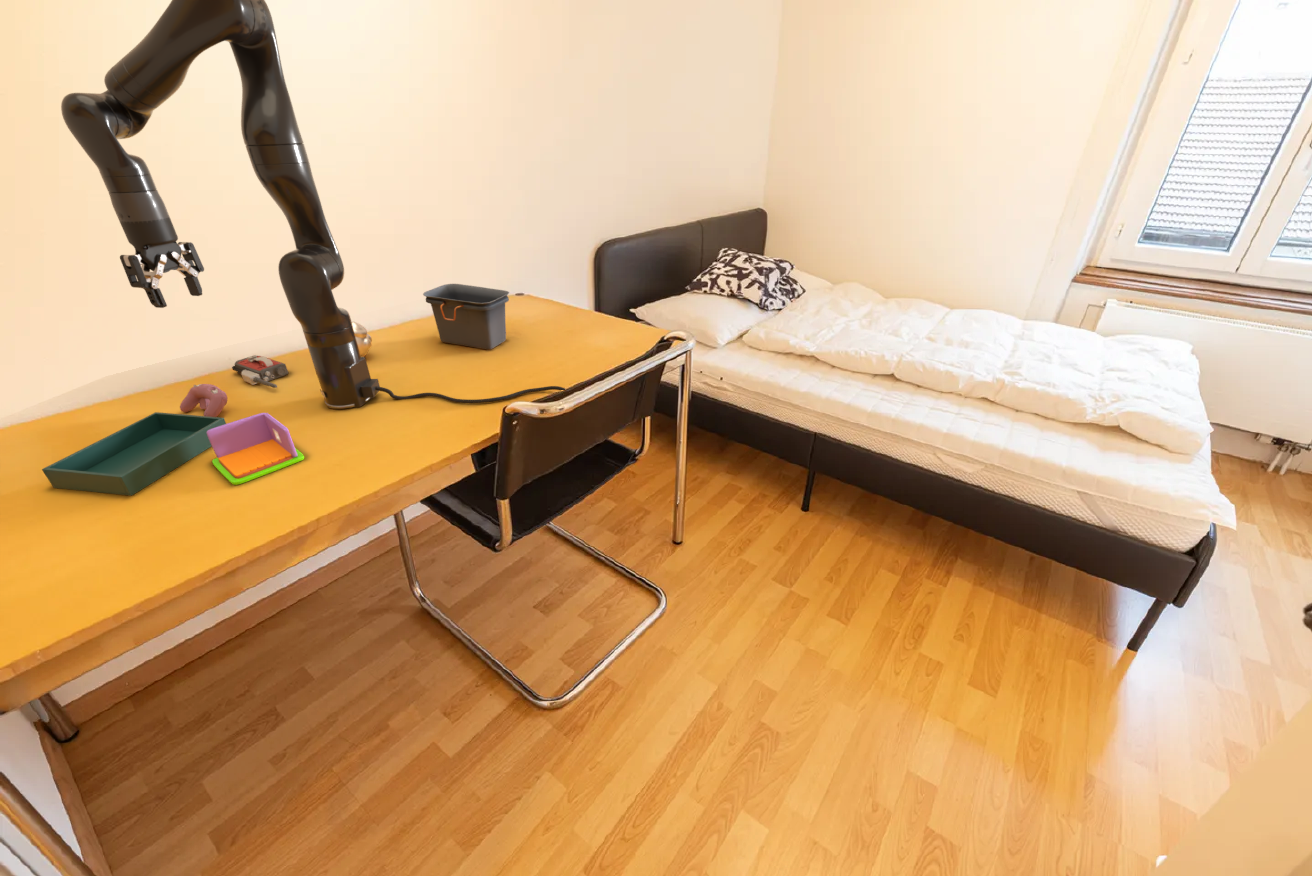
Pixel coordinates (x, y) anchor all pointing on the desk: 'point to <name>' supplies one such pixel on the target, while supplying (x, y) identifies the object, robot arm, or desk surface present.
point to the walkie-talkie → (260, 370)
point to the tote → (134, 454)
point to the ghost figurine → (362, 338)
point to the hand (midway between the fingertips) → (179, 301)
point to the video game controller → (205, 399)
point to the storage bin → (469, 314)
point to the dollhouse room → (252, 448)
